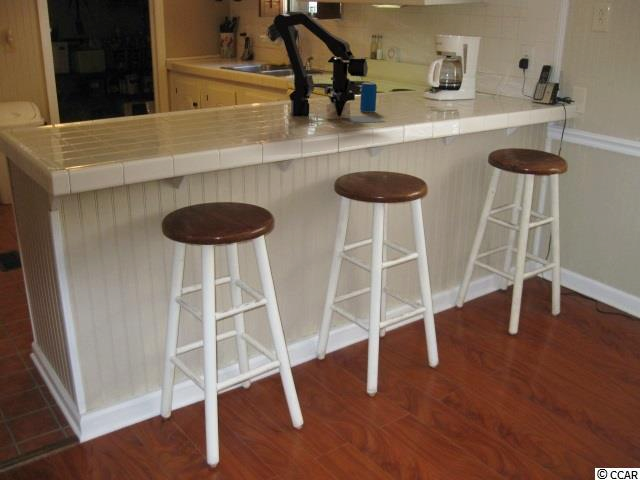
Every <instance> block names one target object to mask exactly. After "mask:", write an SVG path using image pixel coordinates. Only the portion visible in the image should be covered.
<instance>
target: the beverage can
mask: <svg viewBox="0 0 640 480" xmlns="http://www.w3.org/2000/svg"><path fill="white" fill-rule="evenodd" d="M360 87H361V90H360V104H359V106H360V107H359V110H360V111H361V112H363V113H367V114H369V113H374V112H375V111H376V108H377V105H376V104H377V90H378V86H377V83H376V82H371V81H368V82H367V81H366V82H362V83H361V85H360Z"/></svg>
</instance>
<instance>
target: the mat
mask: <svg viewBox="0 0 640 480" xmlns="http://www.w3.org/2000/svg"><path fill="white" fill-rule="evenodd" d="M344 119H345V120H347V121H349V122H351V123H353V124H365V123H366V124H370V123H386V121H385V120H383V119H381V118H378V117H376V116H374V115H370V114H369V115H350V118H344Z"/></svg>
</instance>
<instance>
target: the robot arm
mask: <svg viewBox="0 0 640 480" xmlns="http://www.w3.org/2000/svg"><path fill="white" fill-rule="evenodd" d="M299 25H302V26H303V27H305V28H306V29H307V30H308V31H309V32H311V33H312V34H313V35H314V36H315V37H317V38H318V39H319V40H320V41H321V42H323V43H324V44H325V46H326V47H327V49H328V50H329V51H330V53H331V54H332V56H331V57H330V59H328V60H327V63H331V64H332V76H330V81H332V83H331V85H332V86H326V87H325V88H324V95H326V96H327V95H328V99H329V101H330V103H334V104H335V107H336V111H337V115H338V116H341V114H342V111H343V108H344V105H345V103H346V102H350V101H355V100H356V95H360V93H361V85H357V84H356V83H355V81H354V80H350V78H349V77H348V74H349V75H350V76H351V77H362V78H366V77H367V76H368V75H367V74H368V69H369V67H368V62H367V58H366V57H362V58H357V57H355V55H354V54H353V52H352V51H351V45H350V43H349V42H348V41H346V40H344V39H342V38H341V37H338V36H335V34H332V33H331V32H330V31H329V30H327V29H326V27H323V26H322V24H320V23H319V22H318V21H317V20H315V19H314V18H313V17H312V16H310V14H309V13H308V12H301V13H299V14H292V15H291V14H289V13H288V14H287V13H283V14H282V13H280V14H277V15H276V16H275V17H274V19H273V26H274V28H275V30H276V32H277V34H278V35H279V36H280V38H281V39H282V41H283V45H284V48H285V51H286V53H287V56H288V60H289V63H290V65H291V68H292V69H291V70H292V72H293V75H294V76H293V77H294V78H293V80H294V81H293V85H294V90H293V91H292V92H291V93H290V94H289V95H288V97H289V99H290V104H291V105H290V109H291V111H290V112H289V114H290V115H292V116H293V117H309V116H310V103H309V98H310V96H311V95H312V94H313V93H314V91H315V86H316V83H315V82H314V80H313V75H312V74H310V75H309V74H308V73H307V72H306V70H305V67H304V63H303V60H302V58H301V54H300V50H299V48H298V44H297V41H296V38H295V26H299ZM329 94H330V96H329ZM355 94H356V95H355Z"/></svg>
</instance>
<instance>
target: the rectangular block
mask: <svg viewBox="0 0 640 480" xmlns="http://www.w3.org/2000/svg"><path fill="white" fill-rule="evenodd" d="M350 116H351V102H350V101H347V102H346V103H345V105H344V108H343V111H342V114H341V116H338V115H337V111H336V107H335V104H334V103H331V102H327V103H326V118H327V119H328V120H337V119H338V120H339V119H345V118H350Z"/></svg>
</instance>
